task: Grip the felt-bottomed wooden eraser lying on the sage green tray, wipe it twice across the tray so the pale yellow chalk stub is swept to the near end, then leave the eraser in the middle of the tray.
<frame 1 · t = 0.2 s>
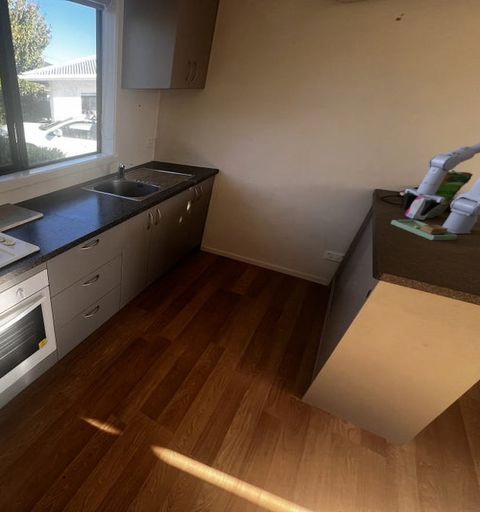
hand: (413, 212, 134), 10 cm above the worktop, tool pointing down, fingers open, 7 cm apart
eraser: (430, 233, 136), point 1 cm above the worktop, touching tray
supplement box: (413, 218, 156), on the worktop
pouch: (425, 216, 159), on the worktop
tray: (420, 231, 140), on the worktop
chalk stub: (417, 228, 142), point 1 cm above the worktop, tilted 7°, touching tray
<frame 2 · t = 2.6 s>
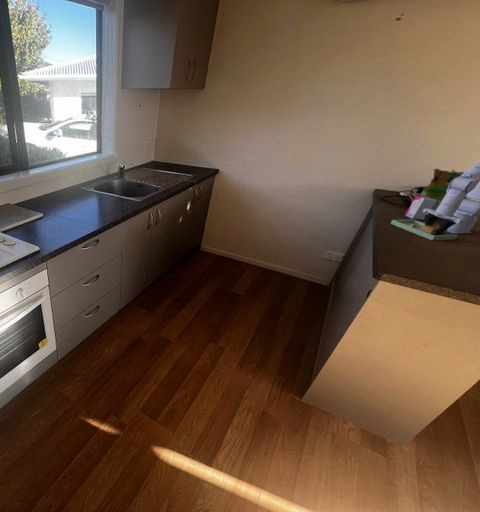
hand: (431, 232, 136), 1 cm above the worktop, tool pointing down, fingers closed on eraser, 4 cm apart
eraser: (430, 233, 136), point 1 cm above the worktop, touching gripper, tray
chalk stub: (413, 224, 143), point 2 cm above the worktop, tilted 162°, touching tray
everything else where it was.
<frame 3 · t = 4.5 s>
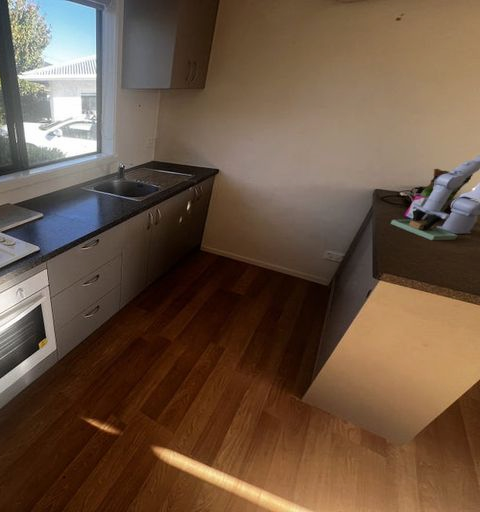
hand: (419, 227, 141), 1 cm above the worktop, tool pointing down, fingers closed on eraser, 4 cm apart
eraser: (418, 228, 141), point 1 cm above the worktop, touching gripper
chalk stub: (412, 224, 144), point 2 cm above the worktop, tilted 129°, touching gripper, tray
everything else where it was.
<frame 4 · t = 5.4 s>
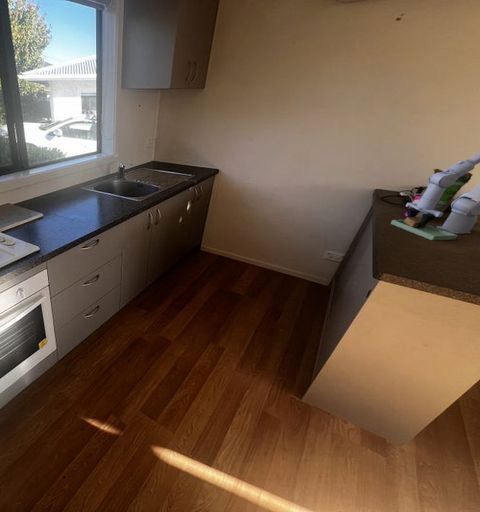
hand: (413, 225, 143), 1 cm above the worktop, tool pointing down, fingers closed on eraser, 5 cm apart
eraser: (413, 225, 143), point 1 cm above the worktop, tilted 11°, touching gripper
chalk stub: (407, 224, 146), point 1 cm above the worktop, tilted 25°, touching gripper, tray
everything else where it was.
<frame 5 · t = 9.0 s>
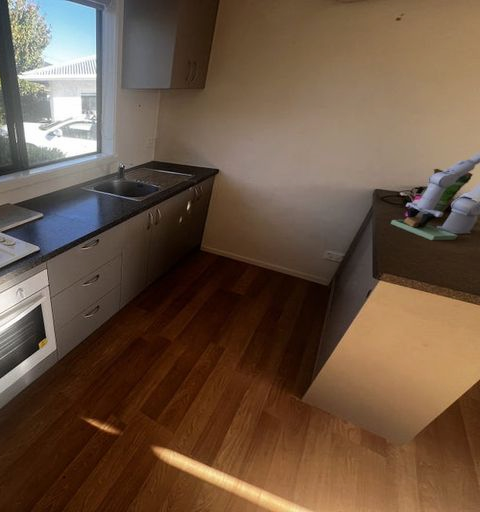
hand: (414, 225, 143), 1 cm above the worktop, tool pointing down, fingers closed on eraser, 5 cm apart
eraser: (413, 225, 143), point 1 cm above the worktop, tilted 11°, touching gripper
chalk stub: (406, 222, 146), point 1 cm above the worktop, tilted 120°, touching gripper, tray
everything else where it was.
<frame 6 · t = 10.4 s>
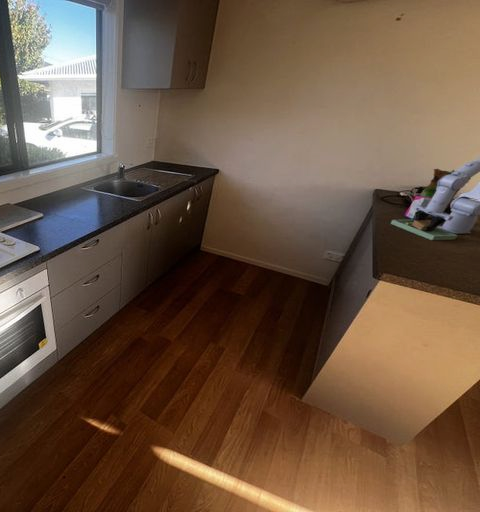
hand: (422, 228, 140), 1 cm above the worktop, tool pointing down, fingers closed on eraser, 5 cm apart
eraser: (421, 228, 140), point 1 cm above the worktop, tilted 11°, touching gripper, tray
chalk stub: (410, 223, 145), point 2 cm above the worktop, tilted 148°, touching tray
everything else where it was.
when the fingers open (1 cm above the worktop, at t = 10.8 s): eraser stays where it is, resting on tray.
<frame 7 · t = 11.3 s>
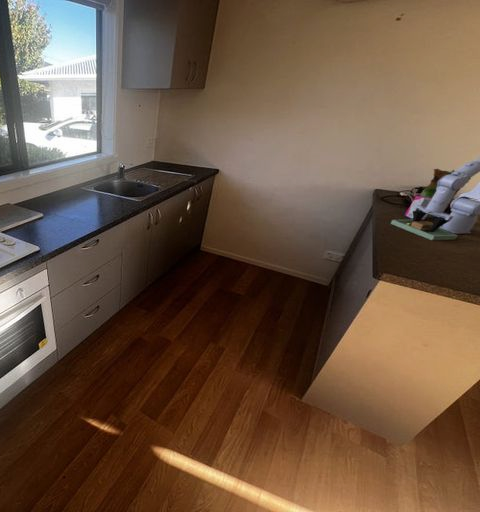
hand: (422, 228, 140), 1 cm above the worktop, tool pointing down, fingers open, 7 cm apart
eraser: (421, 229, 140), point 1 cm above the worktop, touching tray
chalk stub: (411, 224, 144), point 1 cm above the worktop, tilted 93°, touching tray
everything else where it was.
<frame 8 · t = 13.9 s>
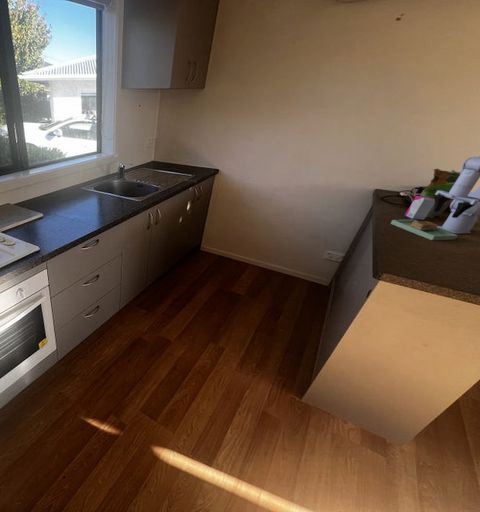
hand: (444, 214, 134), 9 cm above the worktop, tool pointing down, fingers open, 7 cm apart
chalk stub: (412, 225, 144), point 1 cm above the worktop, tilted 71°, touching tray
everything else where it was.
at the end: chalk stub inside the target area in the tray (2.3 cm from its centre), point 1.1 cm above the tray's base; eraser inside the target area in the tray (0.3 cm from its centre), point 0.6 cm above the tray's base; the gripper is holding nothing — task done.
